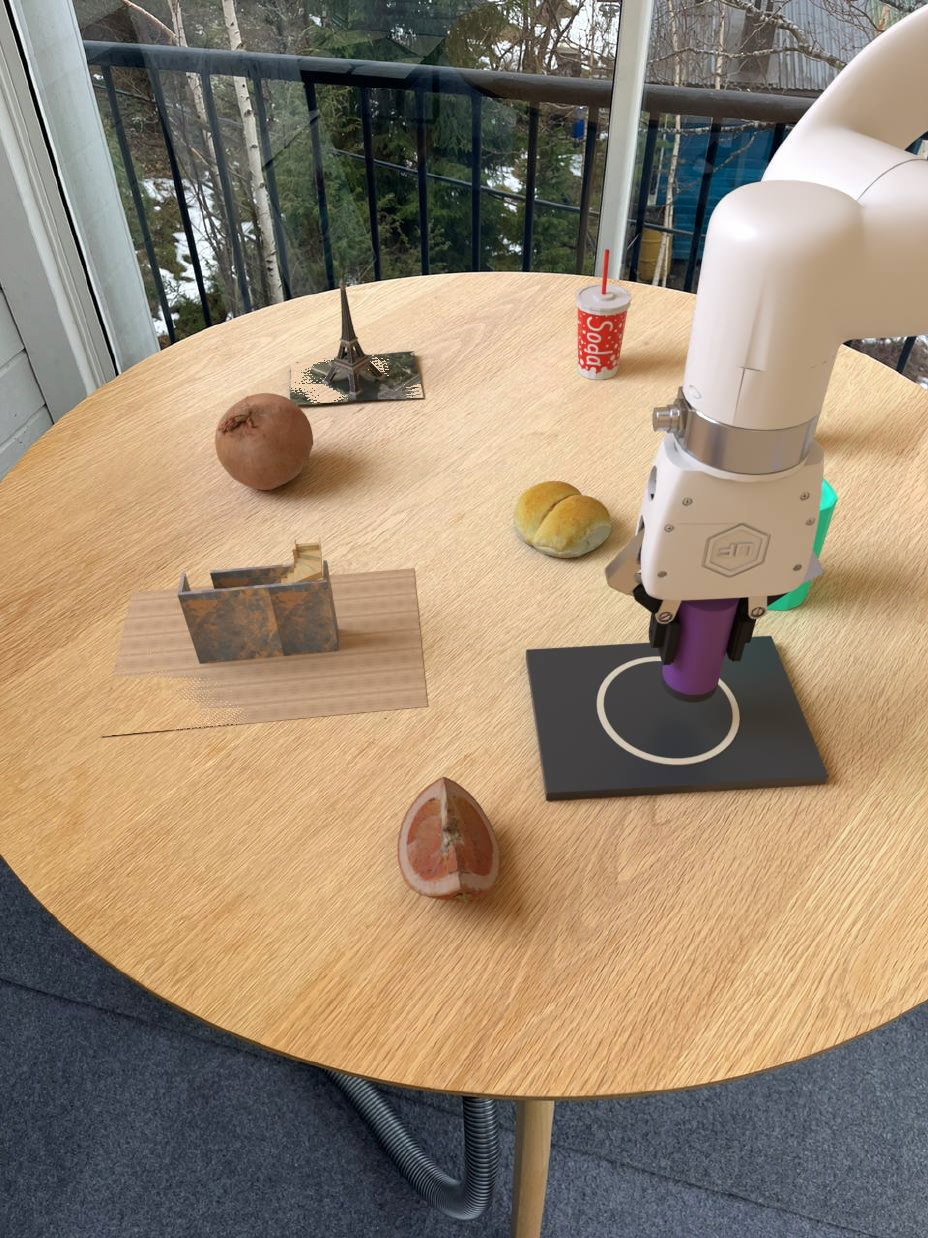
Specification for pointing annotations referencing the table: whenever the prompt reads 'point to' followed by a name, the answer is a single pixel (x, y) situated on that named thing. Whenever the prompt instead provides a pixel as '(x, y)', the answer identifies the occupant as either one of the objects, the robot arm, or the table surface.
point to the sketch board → (665, 725)
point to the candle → (825, 516)
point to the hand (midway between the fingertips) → (696, 646)
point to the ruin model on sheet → (283, 640)
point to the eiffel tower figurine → (362, 369)
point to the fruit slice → (448, 845)
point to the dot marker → (699, 648)
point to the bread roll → (560, 520)
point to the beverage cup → (601, 326)
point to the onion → (264, 441)
